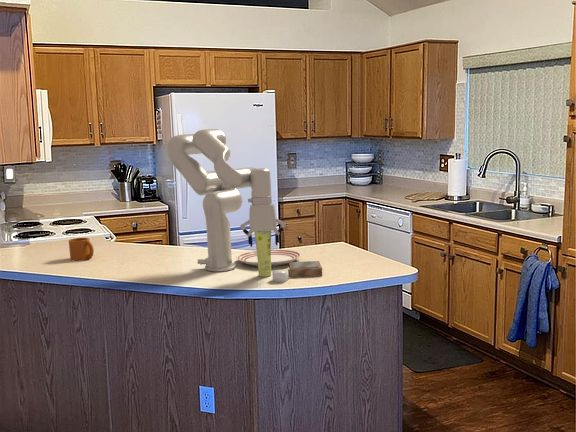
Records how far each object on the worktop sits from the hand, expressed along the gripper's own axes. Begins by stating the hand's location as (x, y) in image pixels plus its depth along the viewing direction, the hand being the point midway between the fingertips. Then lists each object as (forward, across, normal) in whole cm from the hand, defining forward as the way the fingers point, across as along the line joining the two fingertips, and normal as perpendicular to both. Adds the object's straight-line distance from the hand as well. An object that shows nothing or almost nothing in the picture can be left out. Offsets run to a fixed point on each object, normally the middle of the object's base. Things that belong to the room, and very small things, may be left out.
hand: (264, 245), depth 239 cm
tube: (+12, 0, 0) cm, 12 cm away
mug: (+11, -82, +44) cm, 94 cm away
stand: (+12, +16, +2) cm, 20 cm away
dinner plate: (+12, +2, +23) cm, 26 cm away
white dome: (+12, +6, -8) cm, 16 cm away
